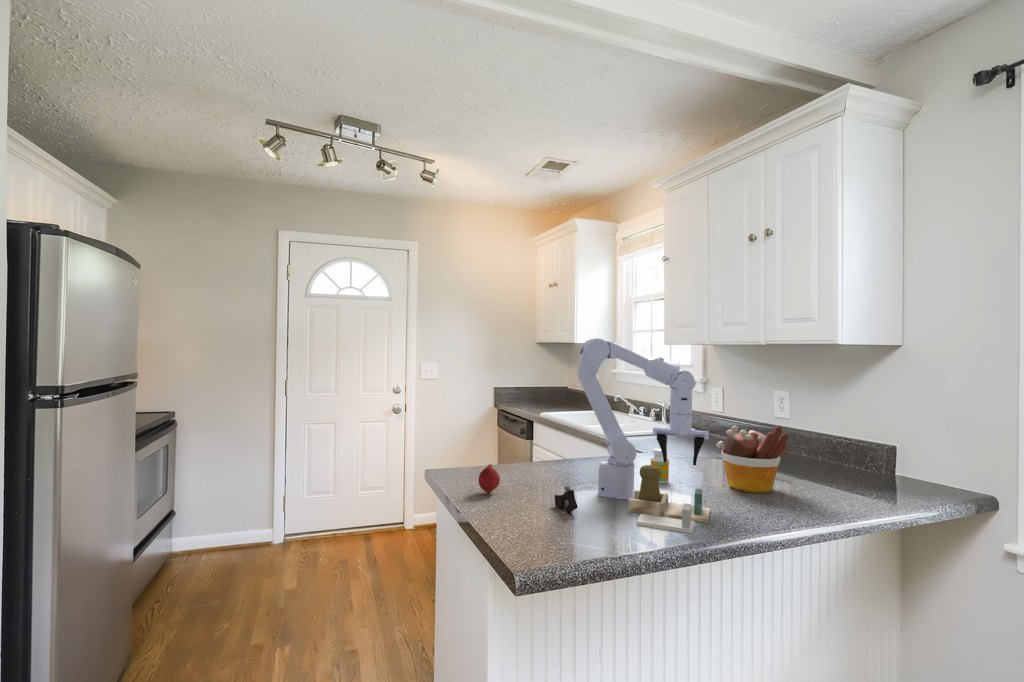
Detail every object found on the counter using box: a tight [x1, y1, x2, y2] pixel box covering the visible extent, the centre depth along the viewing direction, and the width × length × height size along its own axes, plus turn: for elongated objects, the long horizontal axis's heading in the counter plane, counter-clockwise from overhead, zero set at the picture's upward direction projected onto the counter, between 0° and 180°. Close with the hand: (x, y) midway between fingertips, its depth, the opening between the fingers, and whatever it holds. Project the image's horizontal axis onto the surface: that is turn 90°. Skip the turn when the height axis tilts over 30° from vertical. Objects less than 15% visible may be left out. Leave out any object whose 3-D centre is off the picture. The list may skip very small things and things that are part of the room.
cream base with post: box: [636, 502, 695, 535], centre depth 116 cm, size 12×6×5 cm, turn 67°
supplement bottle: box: [650, 448, 670, 484], centre depth 157 cm, size 5×5×10 cm
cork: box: [639, 464, 661, 502], centre depth 128 cm, size 6×6×11 cm
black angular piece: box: [554, 485, 579, 513], centre depth 125 cm, size 9×2×6 cm
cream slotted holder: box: [627, 488, 711, 524], centre depth 126 cm, size 18×10×6 cm, turn 67°
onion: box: [478, 463, 501, 494], centre depth 138 cm, size 6×6×8 cm
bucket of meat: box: [715, 425, 789, 494], centre depth 151 cm, size 20×16×20 cm
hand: (679, 463), depth 139 cm, fingers open, 7 cm apart
